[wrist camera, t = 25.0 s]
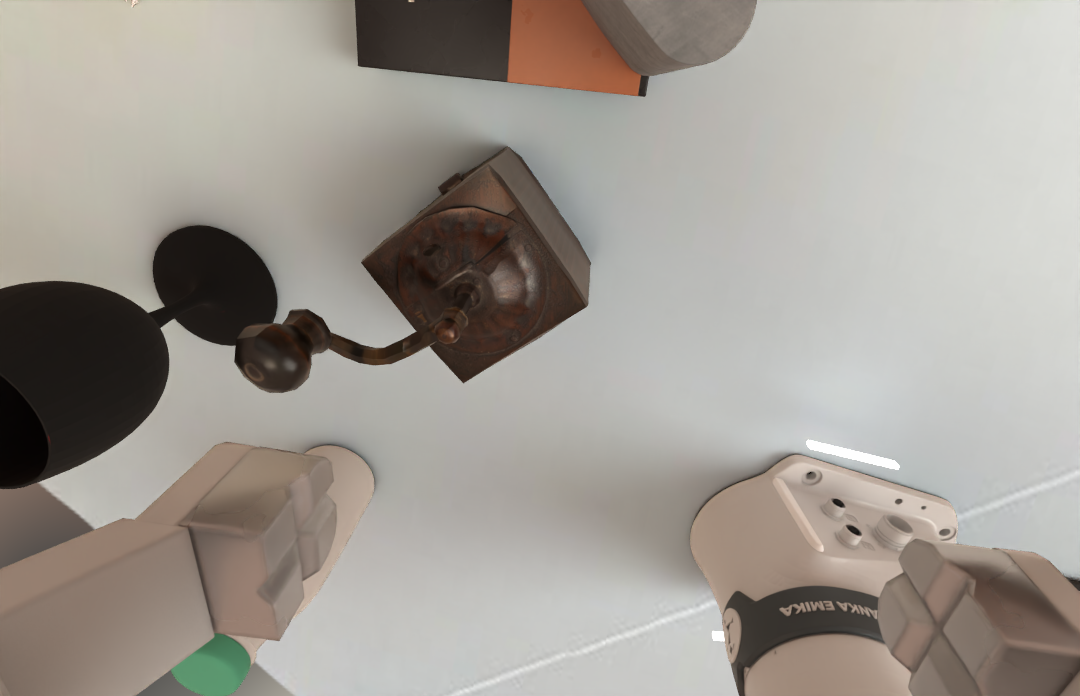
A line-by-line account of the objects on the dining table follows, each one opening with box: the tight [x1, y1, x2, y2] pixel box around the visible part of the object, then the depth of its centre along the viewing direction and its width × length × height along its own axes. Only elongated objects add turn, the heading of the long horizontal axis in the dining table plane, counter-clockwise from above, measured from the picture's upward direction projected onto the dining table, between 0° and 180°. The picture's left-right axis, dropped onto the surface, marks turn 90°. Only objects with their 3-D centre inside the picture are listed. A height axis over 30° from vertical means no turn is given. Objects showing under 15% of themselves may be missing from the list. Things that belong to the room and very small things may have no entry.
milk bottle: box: [171, 445, 374, 696], centre depth 44 cm, size 8×8×20 cm
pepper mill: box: [234, 146, 591, 393], centre depth 34 cm, size 16×11×18 cm
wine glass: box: [0, 226, 277, 489], centre depth 36 cm, size 10×10×20 cm
